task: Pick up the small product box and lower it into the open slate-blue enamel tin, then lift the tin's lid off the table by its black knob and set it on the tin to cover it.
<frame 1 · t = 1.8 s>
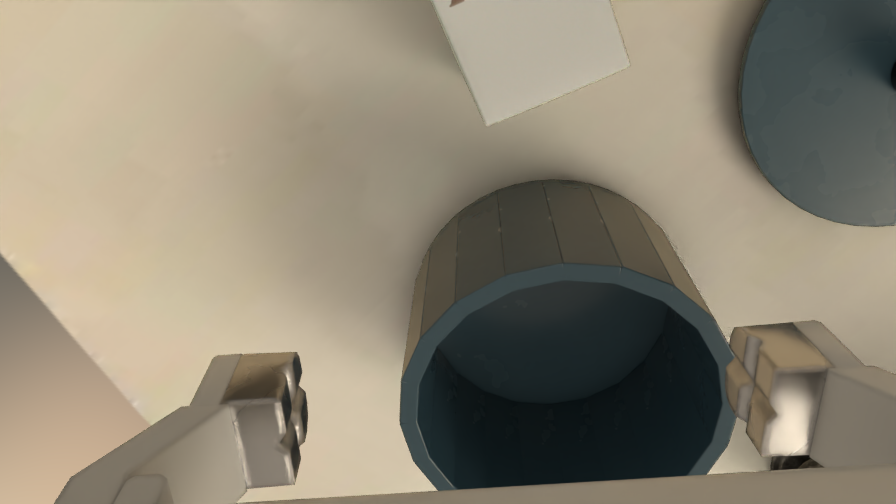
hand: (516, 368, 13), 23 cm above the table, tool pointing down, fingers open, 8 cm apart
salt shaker: (813, 459, 44), on the table
tin: (546, 303, 39), on the table
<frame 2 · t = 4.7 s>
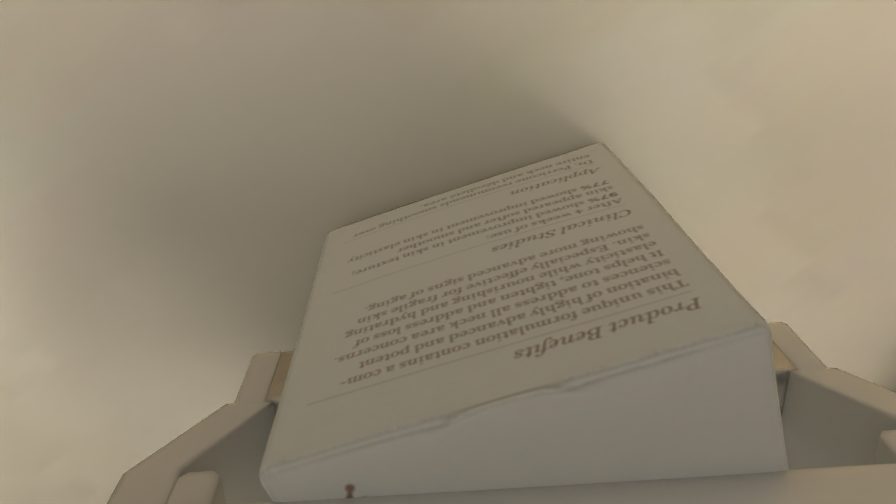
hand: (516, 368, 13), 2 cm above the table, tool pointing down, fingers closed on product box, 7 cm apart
product box: (503, 300, 16), on the table, touching gripper
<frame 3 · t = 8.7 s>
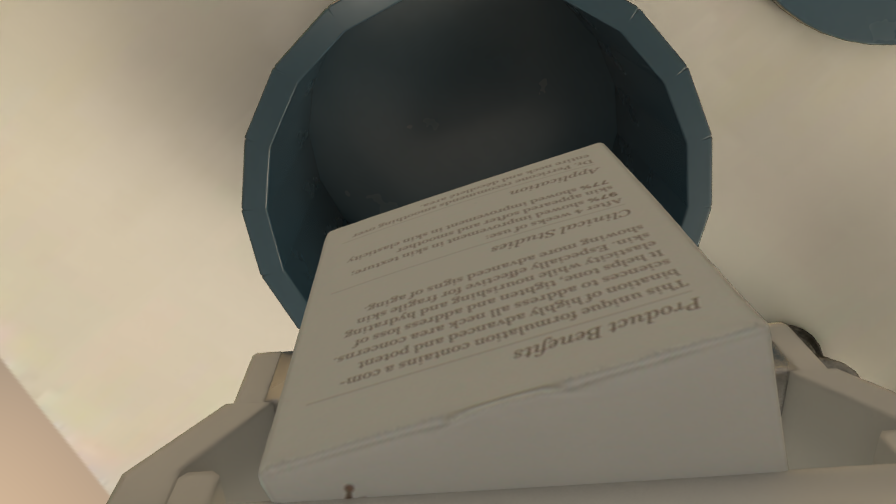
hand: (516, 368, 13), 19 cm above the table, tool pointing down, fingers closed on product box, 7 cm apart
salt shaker: (768, 366, 37), on the table
product box: (503, 300, 16), point 16 cm above the table, touching gripper
tin: (463, 129, 31), on the table
when the fingers open (4 cm above the table, at t = 13.7 s): product box stays where it is, resting on tin.
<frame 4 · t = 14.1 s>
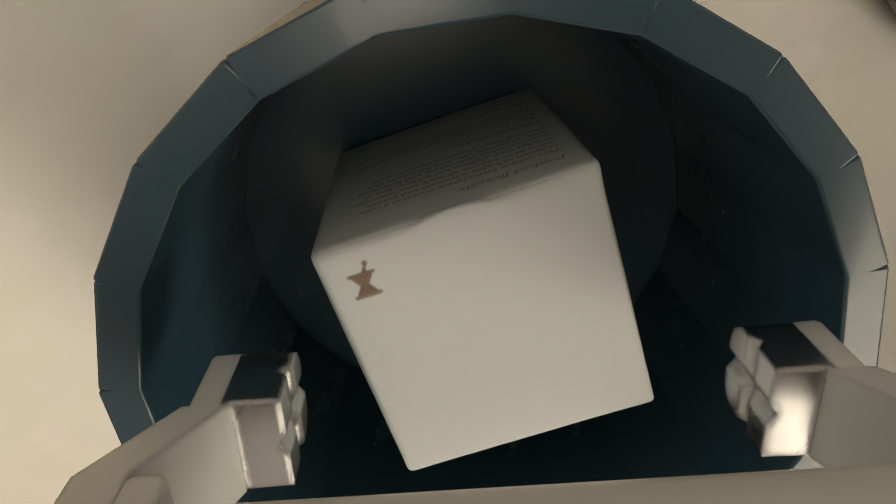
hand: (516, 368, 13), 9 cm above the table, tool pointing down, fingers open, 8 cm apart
product box: (466, 207, 22), resting on tin
tin: (463, 204, 22), on the table
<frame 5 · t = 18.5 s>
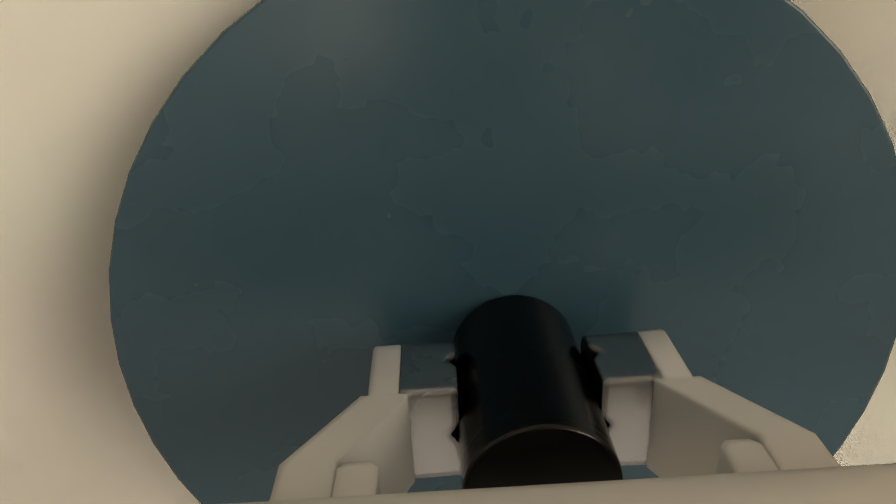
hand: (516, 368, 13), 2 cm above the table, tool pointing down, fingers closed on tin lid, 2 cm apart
tin lid: (509, 333, 15), point 1 cm above the table, touching gripper
when the fingers open (11 cm above the table, at t = 25.9 s): tin lid stays where it is, resting on tin.
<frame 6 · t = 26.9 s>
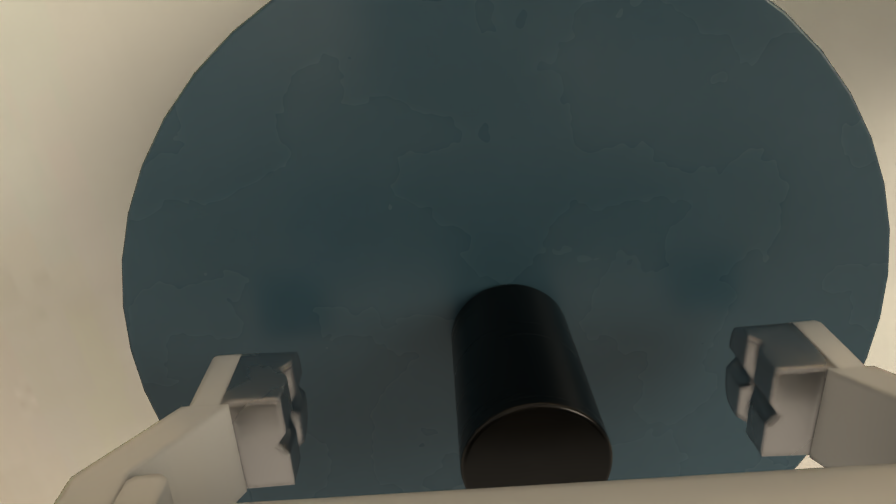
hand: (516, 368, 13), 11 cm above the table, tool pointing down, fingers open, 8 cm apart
tin lid: (506, 321, 15), point 9 cm above the table, touching tin
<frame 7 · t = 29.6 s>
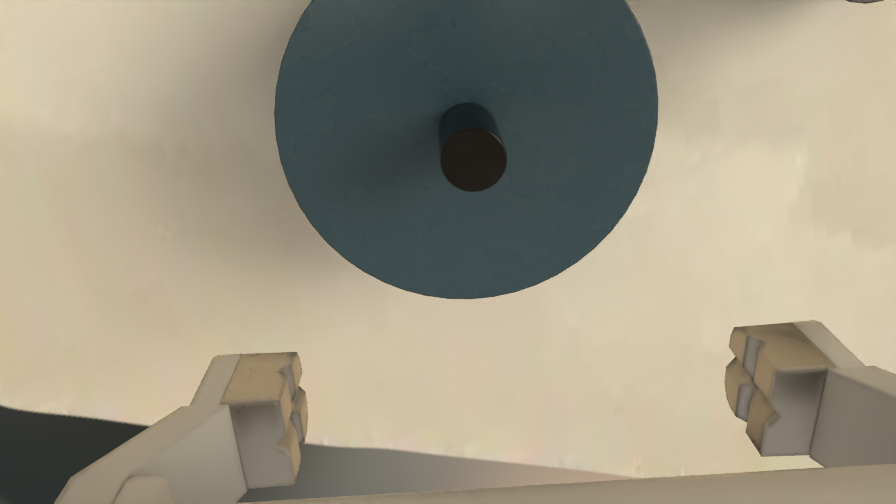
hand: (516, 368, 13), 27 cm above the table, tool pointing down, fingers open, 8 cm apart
tin lid: (466, 128, 29), point 9 cm above the table, touching tin
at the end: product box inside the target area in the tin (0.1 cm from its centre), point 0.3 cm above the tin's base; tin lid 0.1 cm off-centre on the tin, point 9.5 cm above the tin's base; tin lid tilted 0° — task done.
